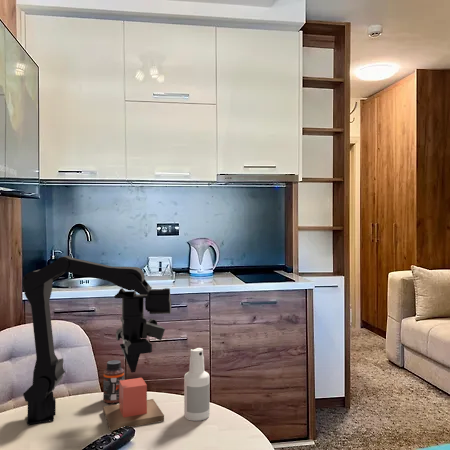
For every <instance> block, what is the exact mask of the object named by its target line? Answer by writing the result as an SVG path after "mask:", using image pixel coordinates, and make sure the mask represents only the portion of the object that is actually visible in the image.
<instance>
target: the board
mask: <svg viewBox="0 0 450 450" xmlns="http://www.w3.org/2000/svg"><path fill="white" fill-rule="evenodd" d="M102 413H103V415H104V419H105V421H106V424H107V426H108V430H109V431H116V430H119V429H118V428H121V427H124V426H130V427H129V428H133V427H138V426H142V425H149V424H154V423H155V424H156V423H161V422H165V414H164V413H163V412H162V410H161V408H160V407H159V406H158V404H157V402H156V401H155V399H154V398H151V399H147V414H141V415H135V416H129V417H123V416H122V413H121V411H120V409H119V403H117V404H112V405H106V406H103V412H102Z"/></svg>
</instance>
